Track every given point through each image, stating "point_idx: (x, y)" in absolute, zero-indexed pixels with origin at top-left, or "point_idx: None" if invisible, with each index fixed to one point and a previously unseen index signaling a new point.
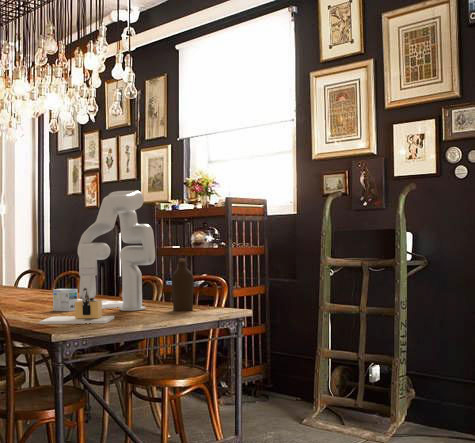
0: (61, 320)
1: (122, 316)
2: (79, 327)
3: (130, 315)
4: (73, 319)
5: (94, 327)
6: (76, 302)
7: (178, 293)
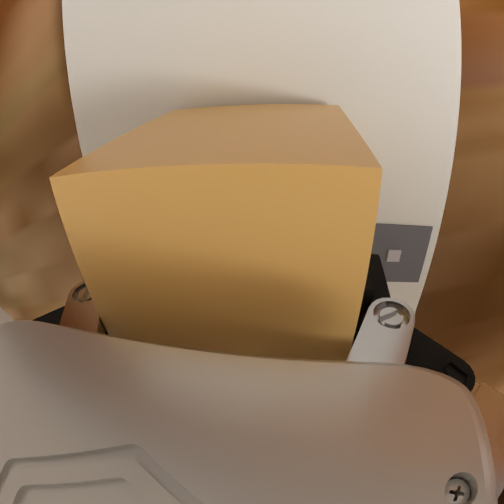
0: (93, 16)
1: (471, 362)
2: (2, 236)
3: (488, 381)
4: (161, 97)
5: (28, 299)
6: (63, 204)
7: (500, 500)
